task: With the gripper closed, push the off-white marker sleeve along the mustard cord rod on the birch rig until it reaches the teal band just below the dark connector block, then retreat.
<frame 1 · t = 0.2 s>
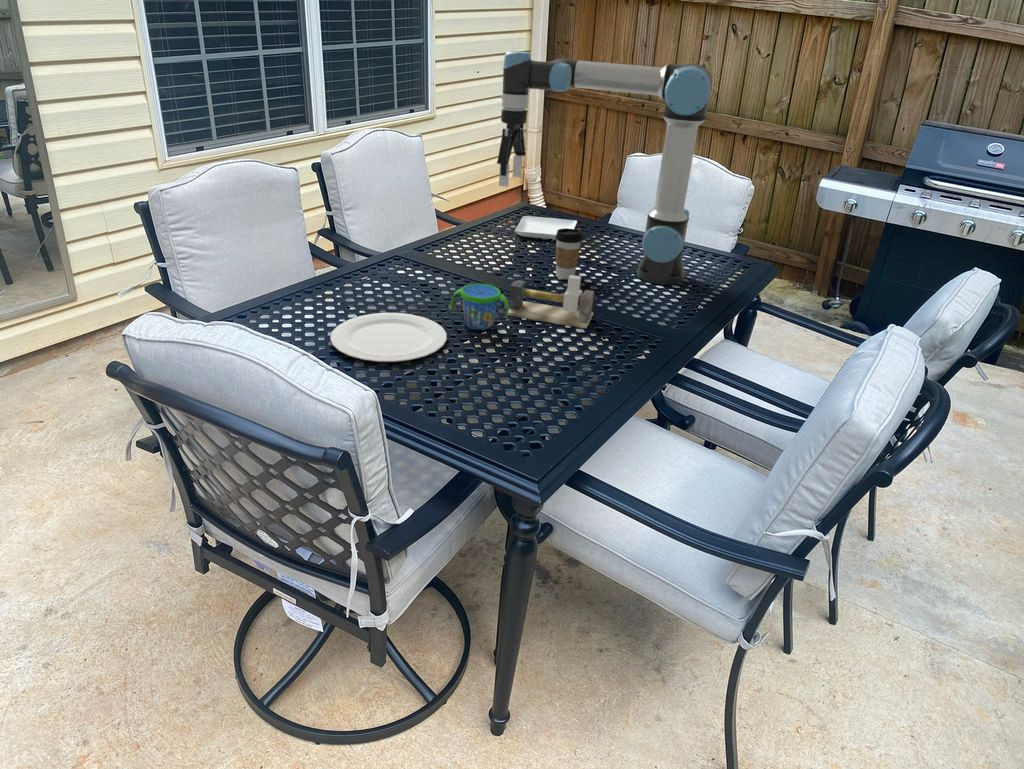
hand: (510, 181, 228), 28 cm above the table, fingers open, 13 cm apart
plate: (389, 342, 188), on the table
cord rig: (549, 315, 208), on the table
coffee cup: (565, 276, 237), on the table
sleeve: (573, 292, 203), point 8 cm above the table, slide at 0.0 cm
salad plate: (546, 234, 278), on the table
snack cup: (479, 326, 199), on the table
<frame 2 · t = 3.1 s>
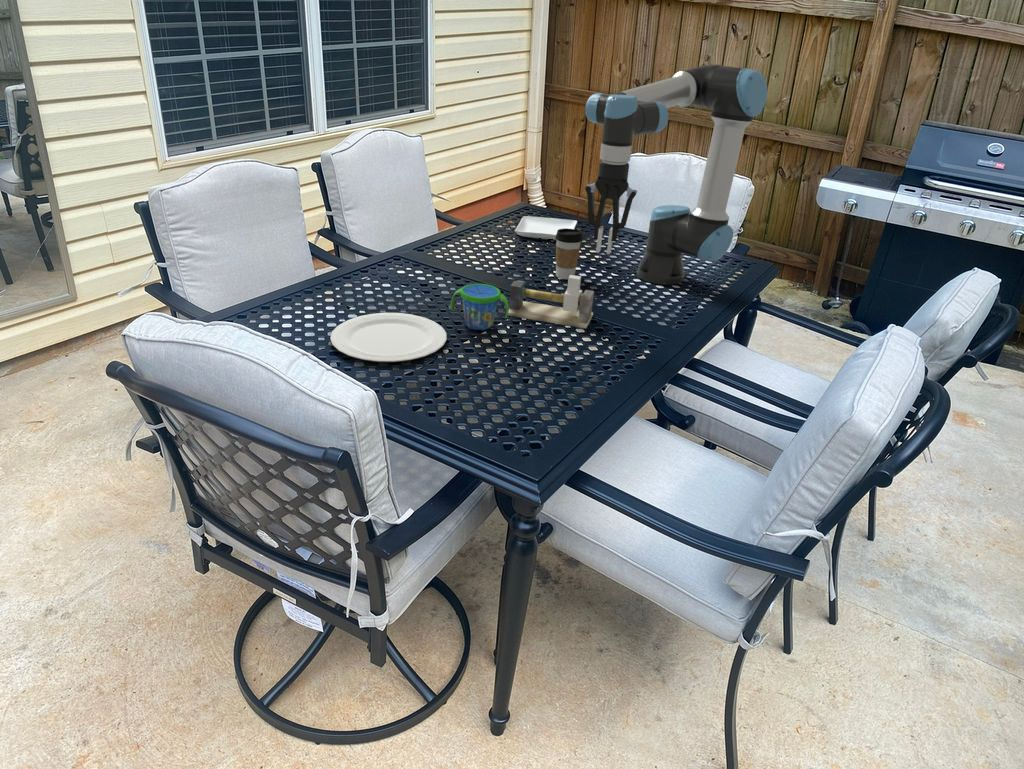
hand: (603, 251, 196), 20 cm above the table, fingers open, 2 cm apart
nothing on the table moved.
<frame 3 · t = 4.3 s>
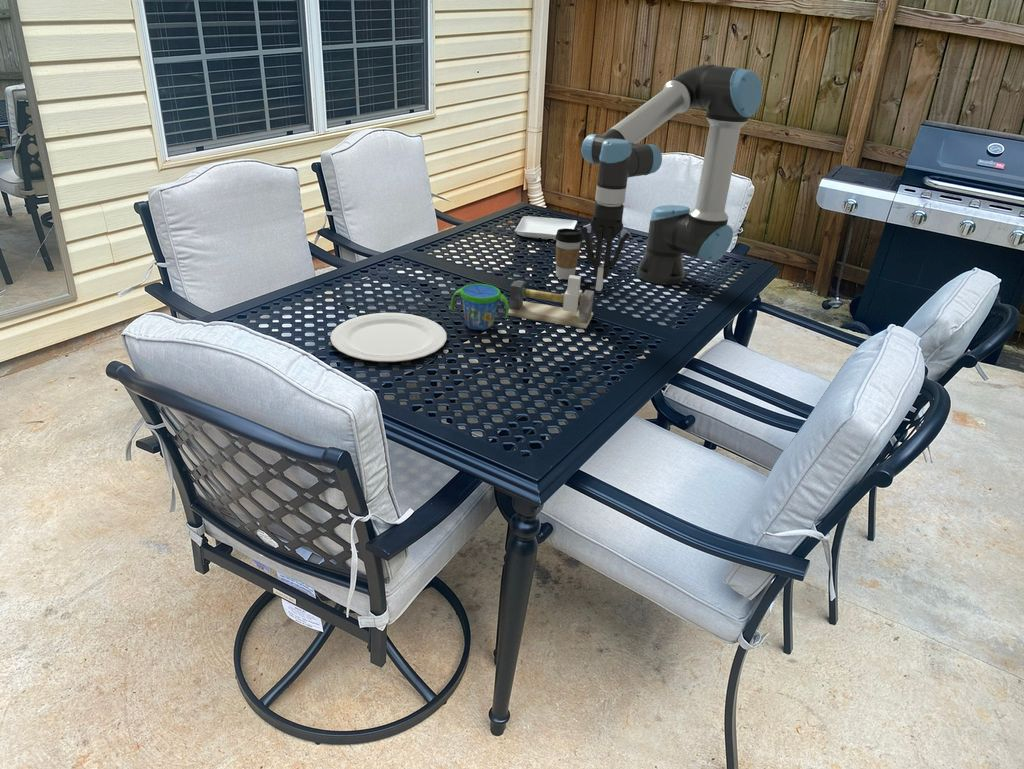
hand: (599, 288, 201), 10 cm above the table, fingers closed
nothing on the table moved.
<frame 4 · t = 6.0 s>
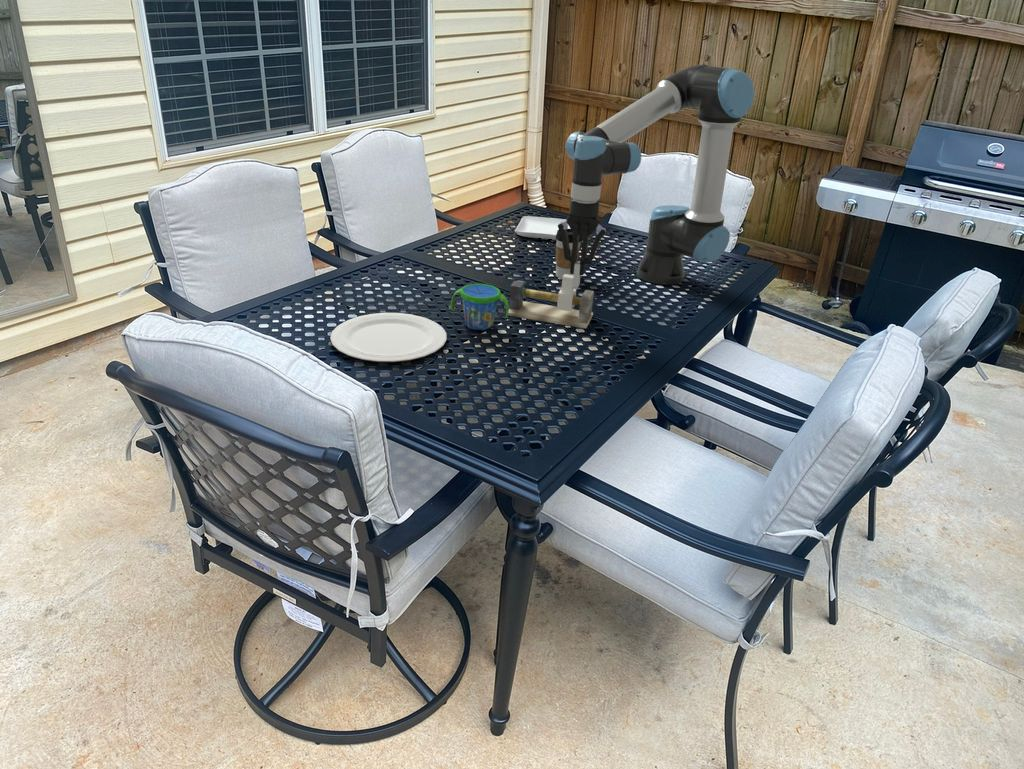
hand: (575, 285, 202), 10 cm above the table, fingers closed
sleeve: (567, 291, 204), point 8 cm above the table, slide at 1.7 cm, touching gripper
everything else where it was.
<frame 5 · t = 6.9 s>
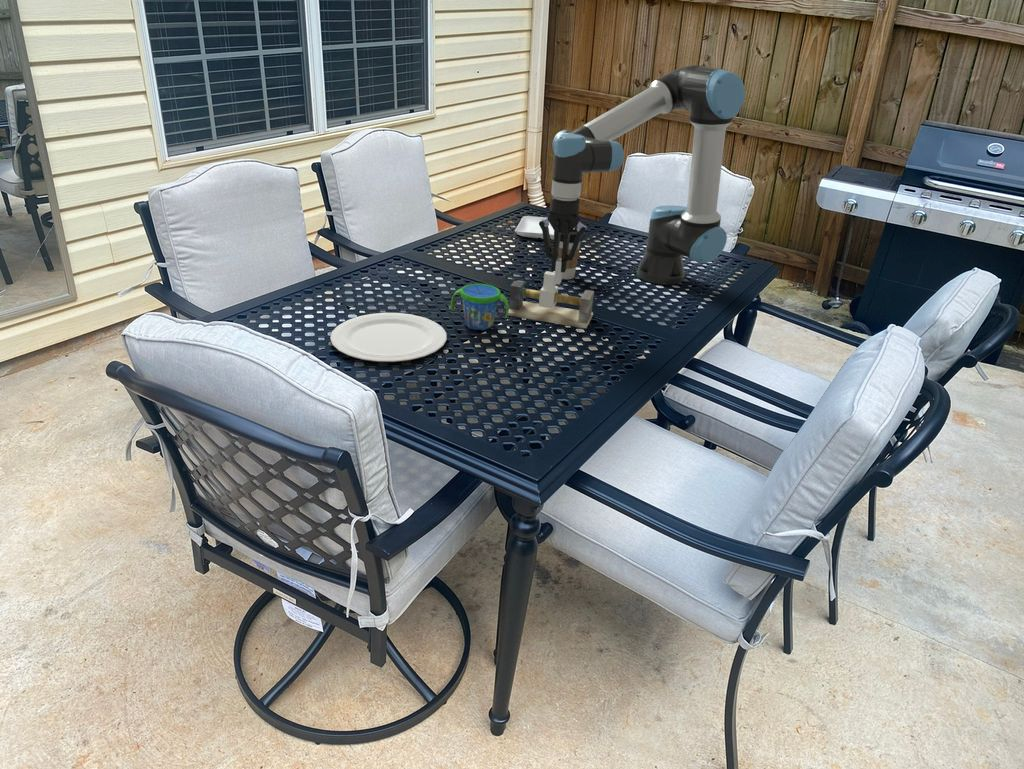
hand: (557, 282, 203), 10 cm above the table, fingers closed
sleeve: (549, 289, 205), point 8 cm above the table, slide at 6.8 cm, touching gripper
everything else where it was.
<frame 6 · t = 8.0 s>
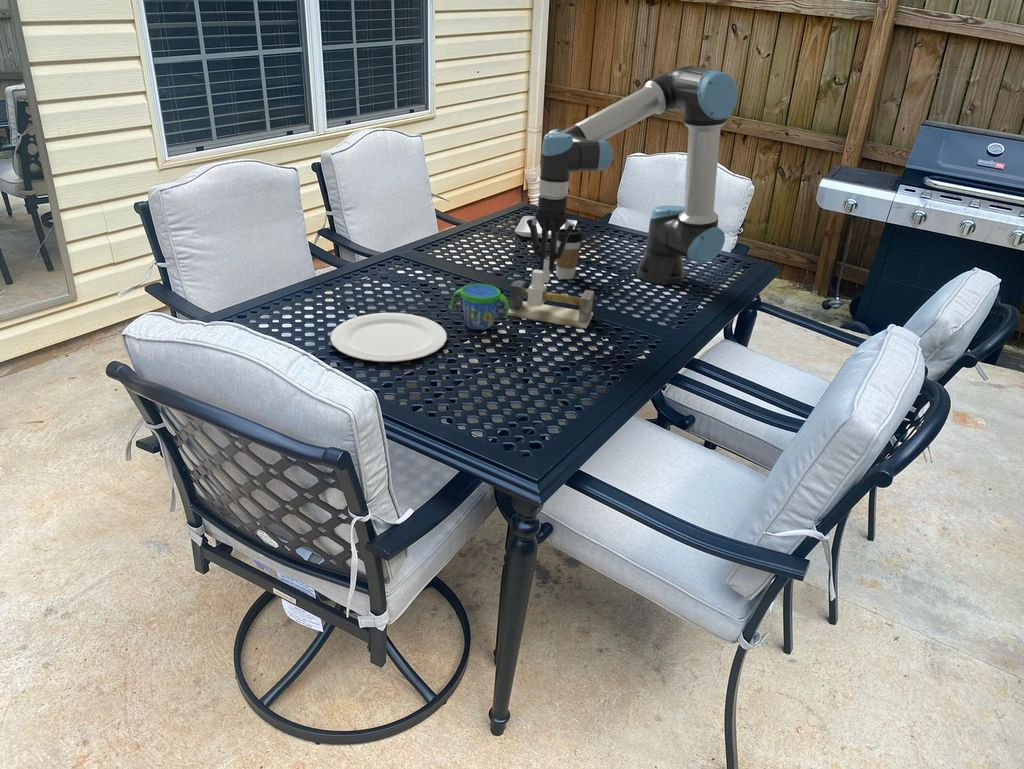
hand: (545, 280, 204), 10 cm above the table, fingers closed
sleeve: (537, 287, 206), point 8 cm above the table, slide at 10.2 cm, touching gripper
everything else where it was.
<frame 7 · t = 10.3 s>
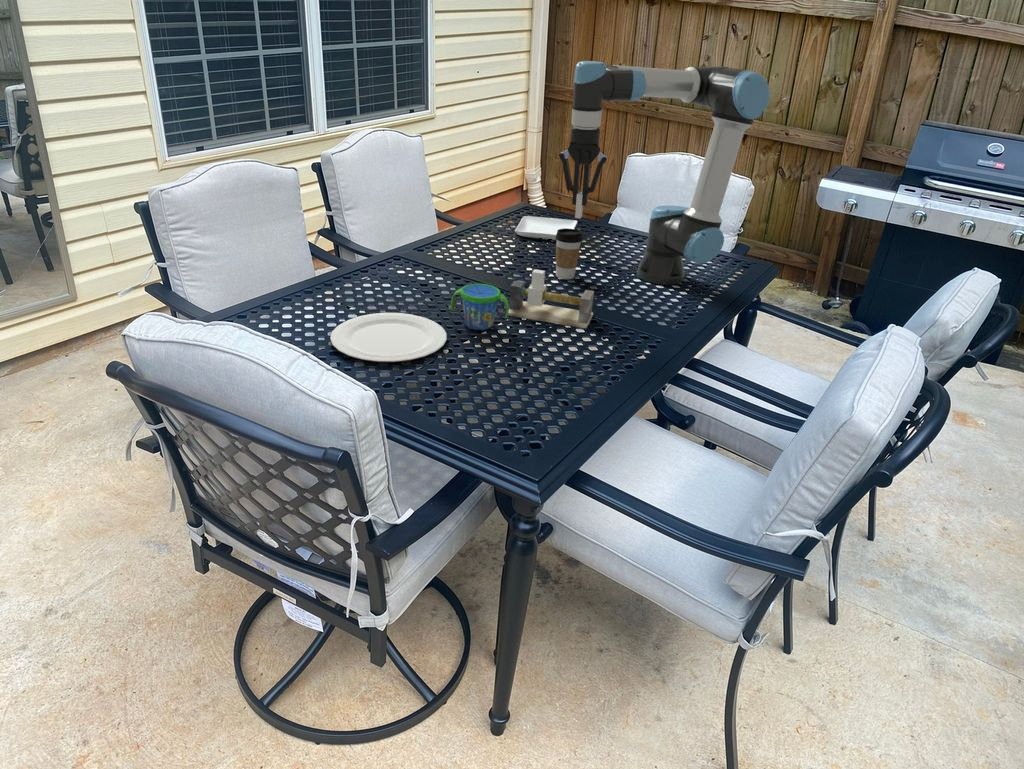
hand: (578, 216, 202), 27 cm above the table, fingers closed
sleeve: (537, 287, 206), point 8 cm above the table, slide at 10.2 cm
everything else where it was.
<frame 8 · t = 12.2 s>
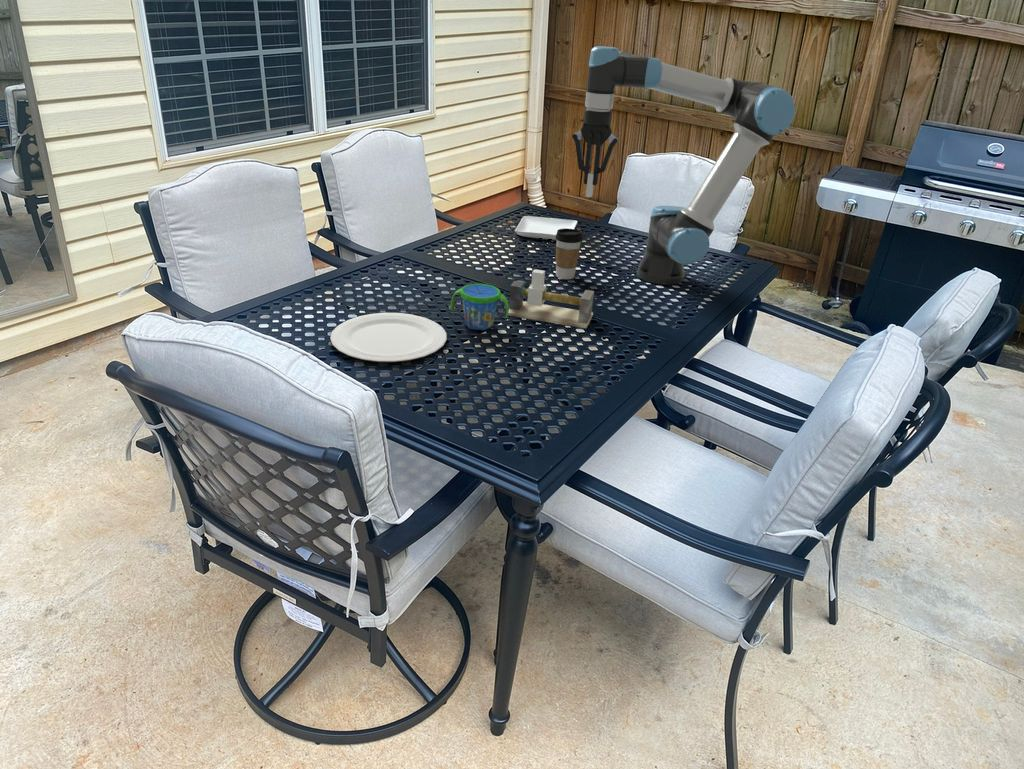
hand: (589, 196, 211), 29 cm above the table, fingers closed
nothing on the table moved.
at the end: sleeve slide at 10.2 cm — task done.
